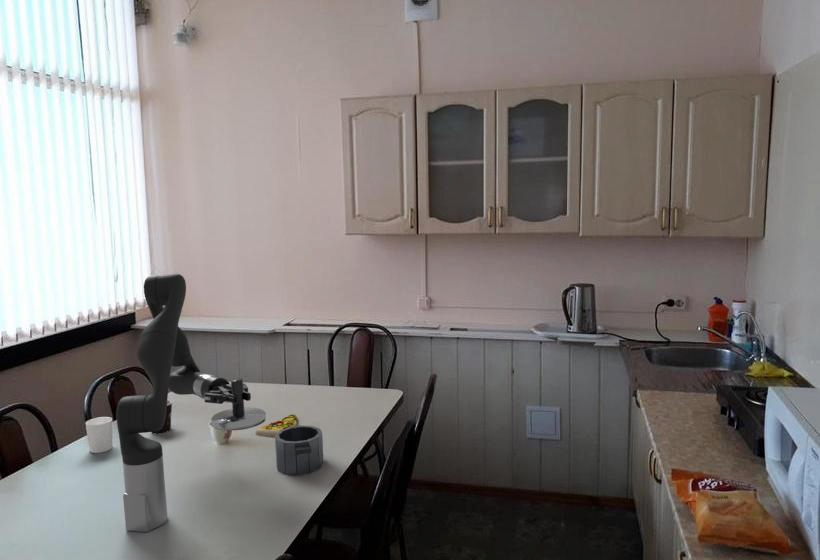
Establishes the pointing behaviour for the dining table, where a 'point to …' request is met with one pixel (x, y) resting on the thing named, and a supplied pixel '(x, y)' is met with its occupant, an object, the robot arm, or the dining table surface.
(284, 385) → the dining table surface
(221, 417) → the lid
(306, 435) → the pot
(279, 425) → the pizza slice
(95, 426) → the white cup
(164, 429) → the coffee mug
